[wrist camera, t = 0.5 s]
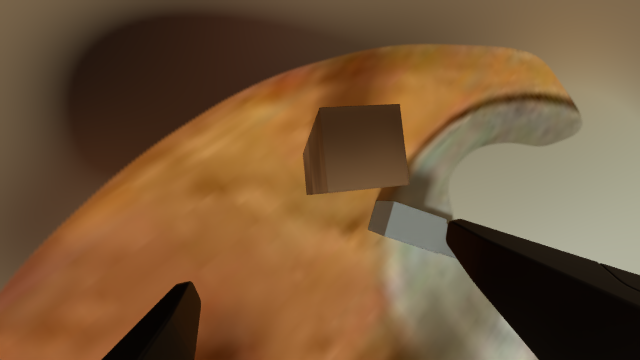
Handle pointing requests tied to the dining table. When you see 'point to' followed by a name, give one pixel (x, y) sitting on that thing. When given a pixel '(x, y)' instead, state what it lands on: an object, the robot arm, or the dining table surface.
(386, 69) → the dining table surface
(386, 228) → the notched rail
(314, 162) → the walnut post
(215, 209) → the dining table surface
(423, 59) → the dining table surface
